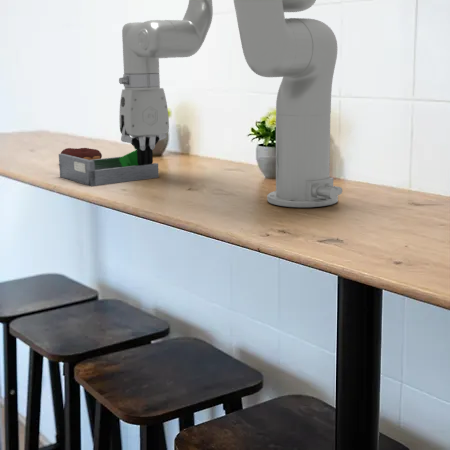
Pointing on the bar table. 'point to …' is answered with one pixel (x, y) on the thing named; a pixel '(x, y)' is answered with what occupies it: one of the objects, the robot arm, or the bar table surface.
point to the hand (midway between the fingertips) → (145, 167)
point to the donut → (83, 153)
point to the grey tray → (103, 170)
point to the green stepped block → (129, 159)
